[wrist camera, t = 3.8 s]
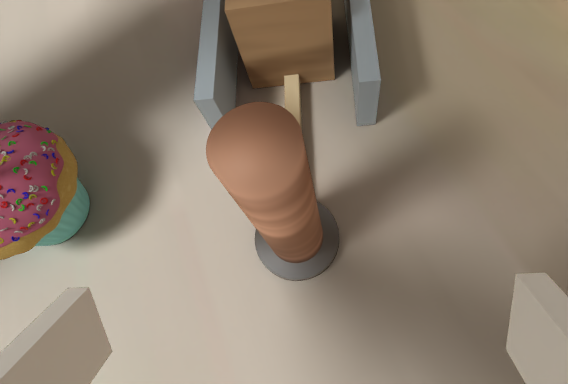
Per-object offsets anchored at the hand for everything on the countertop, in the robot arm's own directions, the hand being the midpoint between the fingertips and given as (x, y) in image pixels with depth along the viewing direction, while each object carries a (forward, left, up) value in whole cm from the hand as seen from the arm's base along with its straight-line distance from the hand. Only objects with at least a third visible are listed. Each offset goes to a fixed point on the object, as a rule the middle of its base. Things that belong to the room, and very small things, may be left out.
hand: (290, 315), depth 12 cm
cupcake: (-19, -2, -10) cm, 22 cm away
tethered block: (-7, +11, -10) cm, 16 cm away
